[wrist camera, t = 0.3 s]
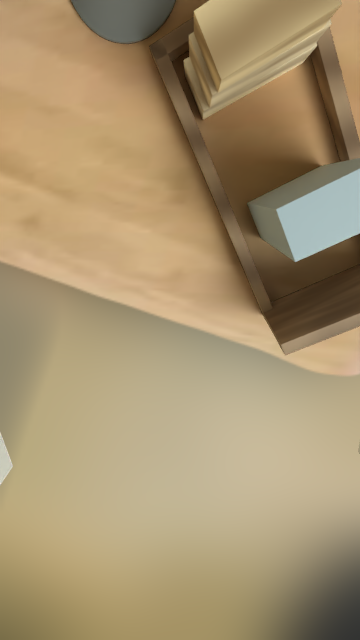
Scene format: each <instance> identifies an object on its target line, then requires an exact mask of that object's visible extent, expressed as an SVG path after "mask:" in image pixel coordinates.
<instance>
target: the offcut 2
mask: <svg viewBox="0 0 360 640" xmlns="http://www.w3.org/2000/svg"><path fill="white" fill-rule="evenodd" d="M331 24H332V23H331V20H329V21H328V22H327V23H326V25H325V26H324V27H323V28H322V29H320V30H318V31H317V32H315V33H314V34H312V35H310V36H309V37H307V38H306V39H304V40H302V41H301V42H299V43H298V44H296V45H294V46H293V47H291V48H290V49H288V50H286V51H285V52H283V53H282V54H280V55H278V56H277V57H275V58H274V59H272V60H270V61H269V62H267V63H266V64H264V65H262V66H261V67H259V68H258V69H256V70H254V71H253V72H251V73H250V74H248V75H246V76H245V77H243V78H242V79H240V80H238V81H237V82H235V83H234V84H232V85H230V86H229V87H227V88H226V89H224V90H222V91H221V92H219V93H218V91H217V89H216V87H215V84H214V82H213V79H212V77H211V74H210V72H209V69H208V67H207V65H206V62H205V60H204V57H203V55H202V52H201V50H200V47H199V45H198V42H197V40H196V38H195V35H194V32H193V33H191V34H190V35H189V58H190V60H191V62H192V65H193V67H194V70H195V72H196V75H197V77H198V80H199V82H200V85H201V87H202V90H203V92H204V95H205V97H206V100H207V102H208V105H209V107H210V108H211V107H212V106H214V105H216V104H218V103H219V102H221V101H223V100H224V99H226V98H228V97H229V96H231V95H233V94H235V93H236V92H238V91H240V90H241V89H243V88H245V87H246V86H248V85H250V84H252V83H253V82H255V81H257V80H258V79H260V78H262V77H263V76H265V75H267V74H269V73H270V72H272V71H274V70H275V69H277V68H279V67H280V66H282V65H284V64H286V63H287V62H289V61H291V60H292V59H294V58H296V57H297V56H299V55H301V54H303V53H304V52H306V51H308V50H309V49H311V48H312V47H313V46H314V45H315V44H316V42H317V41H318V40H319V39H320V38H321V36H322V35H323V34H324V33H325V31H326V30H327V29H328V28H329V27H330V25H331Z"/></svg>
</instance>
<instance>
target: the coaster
mask: <svg viewBox="0 0 360 640" xmlns="http://www.w3.org/2000/svg"><path fill="white" fill-rule="evenodd" d="M71 1H72V3H73V5H74V7H75V9H76V11H77V12H78V14H79V15H80V17H81V18H82V20H83V21H84V22H85V23H86V25H87V26H88V27H89V28H90V29H91V30H93V31H94V32H95V33H96V34H98V35H99V36H101V37H102V38H104V39H106V40H108V41H111V42H115V43H121V44H131V43H136V42H139V41H142V40H144V39H146V38H148V37H150V36H151V35H152V34H154V33H155V32H156V31H157V30H158V29H159V28H160V27H161V26H162V25H163V24H164V22H165V21H166V20H167V18H168V17H169V15H170V13H171V11H172V9H173V7H174V4H175V2H176V0H71Z"/></svg>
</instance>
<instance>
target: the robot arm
mask: <svg viewBox="0 0 360 640" xmlns="http://www.w3.org/2000/svg"><path fill="white" fill-rule="evenodd" d="M359 453H360V444H359ZM12 467H13V465H12V462H11V459H10V457H9V454H8V452H7V449H6V446H5V444H4V441H3V438H2V436H1V433H0V485H1V483H2V481H3V480H4V479H5V477H6V476H7V474H8V473H9V471H10V469H11V468H12Z"/></svg>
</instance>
